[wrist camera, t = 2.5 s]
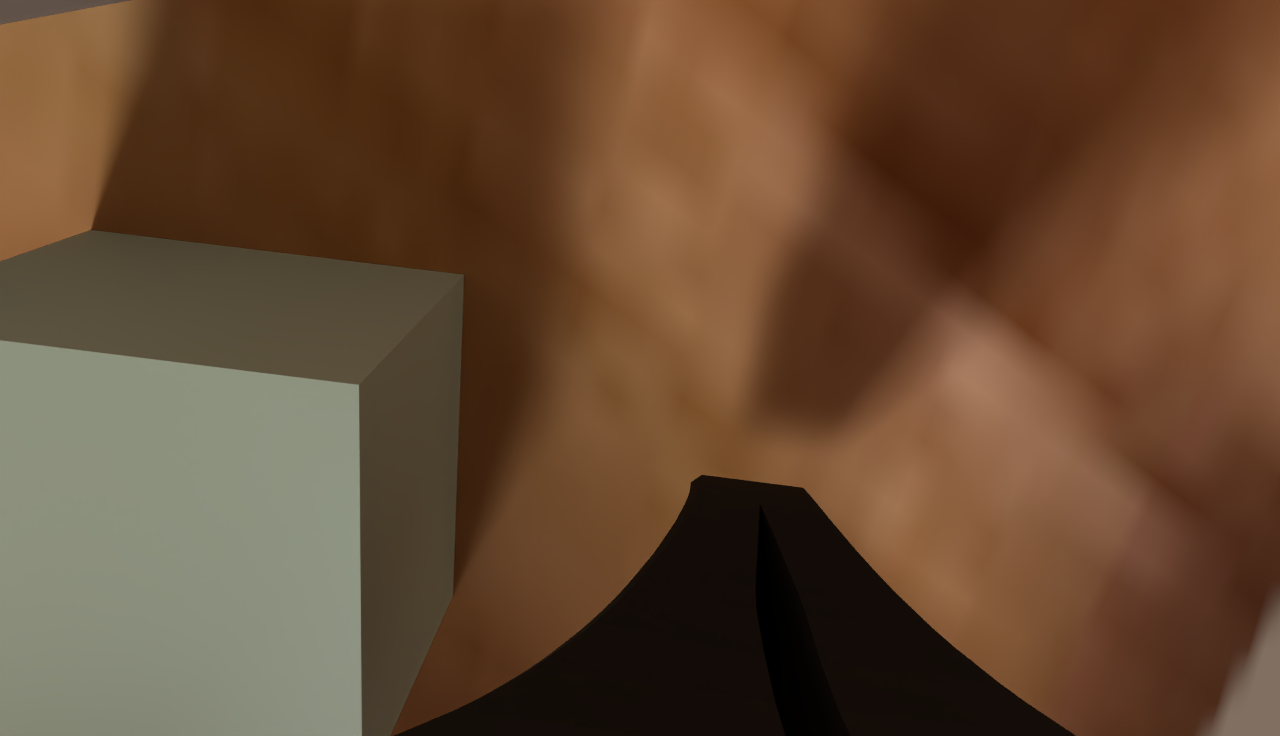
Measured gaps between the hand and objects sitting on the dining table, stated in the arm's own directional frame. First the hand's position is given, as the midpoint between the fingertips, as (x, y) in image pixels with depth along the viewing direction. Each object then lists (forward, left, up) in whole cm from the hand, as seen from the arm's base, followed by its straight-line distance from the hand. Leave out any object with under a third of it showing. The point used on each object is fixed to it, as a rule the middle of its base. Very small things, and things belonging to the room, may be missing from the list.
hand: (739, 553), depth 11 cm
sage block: (0, +6, -2) cm, 7 cm away
